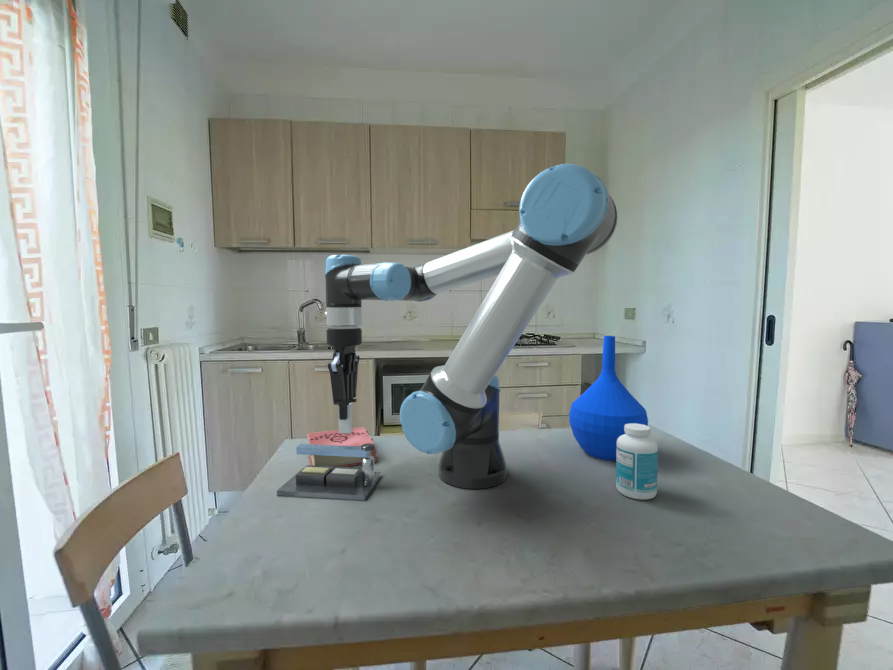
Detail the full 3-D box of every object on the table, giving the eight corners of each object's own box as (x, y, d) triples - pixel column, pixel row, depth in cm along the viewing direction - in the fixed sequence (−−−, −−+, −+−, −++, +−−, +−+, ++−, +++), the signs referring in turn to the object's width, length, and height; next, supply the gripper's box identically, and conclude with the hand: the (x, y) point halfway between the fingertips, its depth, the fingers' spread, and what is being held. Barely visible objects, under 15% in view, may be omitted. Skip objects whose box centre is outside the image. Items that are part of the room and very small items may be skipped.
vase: (565, 439, 111) (567, 333, 109) (635, 443, 107) (639, 334, 105) (572, 465, 93) (574, 338, 91) (657, 471, 89) (661, 339, 87)
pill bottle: (655, 488, 81) (657, 423, 80) (657, 504, 74) (660, 434, 73) (615, 481, 84) (617, 419, 83) (614, 496, 77) (616, 429, 76)
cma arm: (375, 453, 82) (375, 443, 82) (372, 458, 80) (371, 448, 80) (301, 450, 84) (301, 440, 84) (295, 454, 82) (295, 444, 82)
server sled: (381, 476, 87) (381, 448, 87) (365, 500, 76) (364, 468, 76) (303, 472, 89) (302, 445, 89) (276, 495, 78) (275, 464, 78)
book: (378, 463, 95) (377, 443, 95) (311, 473, 90) (311, 452, 89) (366, 444, 109) (366, 426, 108) (307, 452, 103) (307, 433, 102)
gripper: (339, 325, 94) (340, 422, 95) (314, 328, 81) (316, 441, 83) (370, 325, 93) (370, 424, 95) (349, 329, 80) (351, 443, 82)
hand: (345, 432), depth 89 cm, fingers closed
